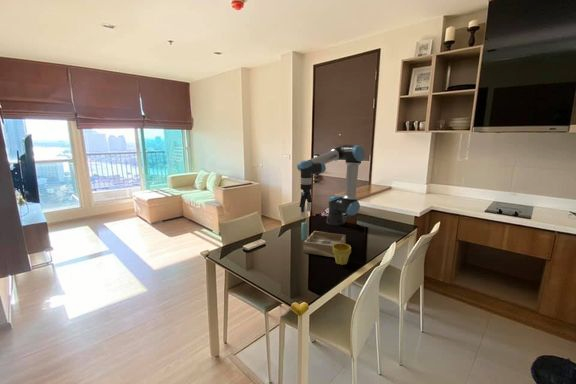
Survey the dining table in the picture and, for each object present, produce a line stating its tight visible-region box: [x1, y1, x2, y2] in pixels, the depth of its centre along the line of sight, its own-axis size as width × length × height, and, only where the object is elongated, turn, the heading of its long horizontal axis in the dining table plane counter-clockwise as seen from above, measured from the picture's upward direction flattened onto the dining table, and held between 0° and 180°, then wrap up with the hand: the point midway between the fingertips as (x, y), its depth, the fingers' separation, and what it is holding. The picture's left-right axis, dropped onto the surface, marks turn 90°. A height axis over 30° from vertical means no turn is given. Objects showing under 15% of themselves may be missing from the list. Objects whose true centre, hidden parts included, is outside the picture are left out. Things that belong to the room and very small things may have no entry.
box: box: [303, 230, 347, 258], centre depth 178 cm, size 22×22×7 cm
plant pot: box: [333, 243, 352, 266], centre depth 158 cm, size 10×10×10 cm
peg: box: [300, 221, 308, 241], centre depth 194 cm, size 4×4×12 cm
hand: (305, 213), depth 190 cm, fingers open, 13 cm apart
